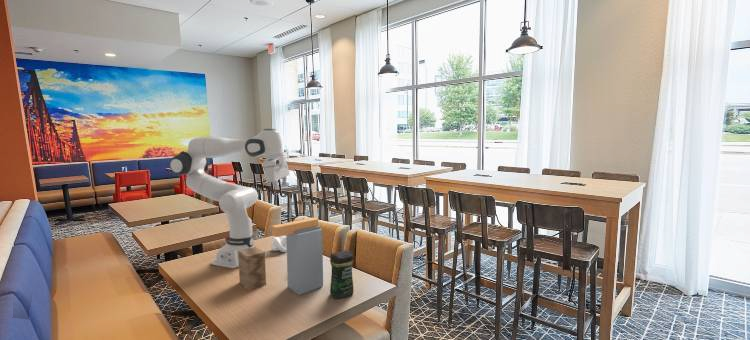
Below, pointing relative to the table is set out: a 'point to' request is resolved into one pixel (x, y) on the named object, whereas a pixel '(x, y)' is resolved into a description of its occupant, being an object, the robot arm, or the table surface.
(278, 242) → the crumpled paper ball
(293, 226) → the tan wooden bar
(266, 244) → the table surface
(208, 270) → the table surface
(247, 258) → the brown piece
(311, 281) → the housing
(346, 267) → the coffee jar
